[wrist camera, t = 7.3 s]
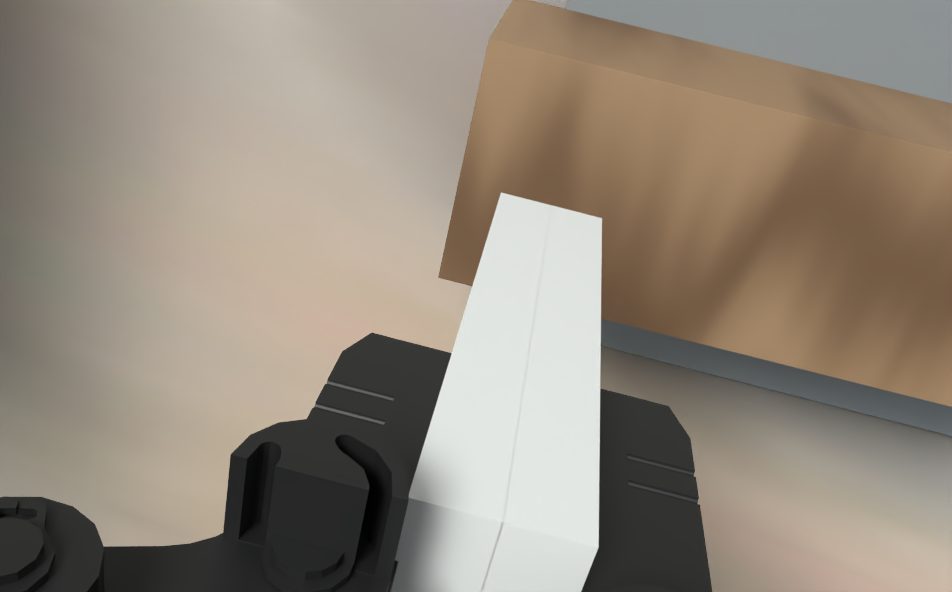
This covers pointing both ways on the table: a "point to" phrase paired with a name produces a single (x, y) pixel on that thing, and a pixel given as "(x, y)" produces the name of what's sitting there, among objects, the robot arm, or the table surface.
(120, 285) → the table surface
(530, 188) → the walnut block
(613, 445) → the robot arm
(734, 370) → the mat
